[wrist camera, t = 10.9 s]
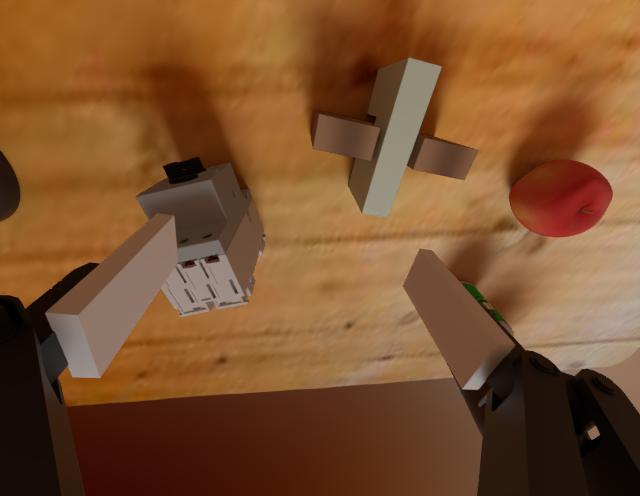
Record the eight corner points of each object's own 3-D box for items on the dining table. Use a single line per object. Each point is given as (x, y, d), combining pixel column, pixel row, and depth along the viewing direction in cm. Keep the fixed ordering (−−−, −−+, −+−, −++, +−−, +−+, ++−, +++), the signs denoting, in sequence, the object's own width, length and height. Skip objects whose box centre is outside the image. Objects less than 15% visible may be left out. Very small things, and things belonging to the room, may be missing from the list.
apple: (493, 225, 41) (544, 259, 33) (491, 169, 37) (548, 191, 28) (557, 203, 40) (627, 232, 32) (563, 142, 36) (646, 156, 27)
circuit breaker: (232, 142, 33) (186, 171, 20) (266, 238, 40) (249, 305, 27) (176, 155, 34) (96, 192, 21) (220, 248, 41) (181, 318, 28)
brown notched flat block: (310, 135, 33) (313, 148, 25) (315, 109, 32) (319, 114, 23) (425, 160, 36) (464, 180, 27) (434, 136, 34) (478, 150, 26)
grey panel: (368, 189, 37) (387, 217, 29) (348, 185, 37) (361, 213, 28) (402, 75, 31) (441, 66, 22) (378, 68, 30) (408, 57, 21)
